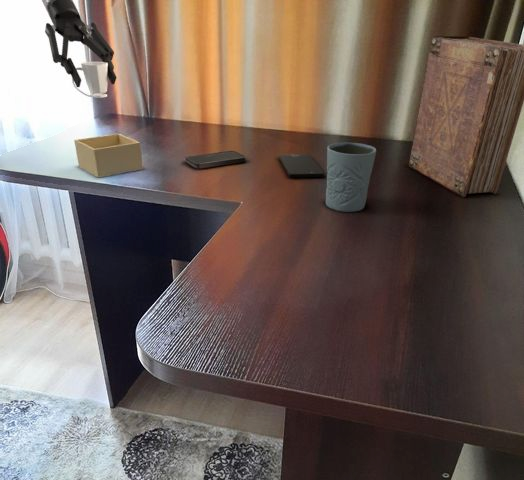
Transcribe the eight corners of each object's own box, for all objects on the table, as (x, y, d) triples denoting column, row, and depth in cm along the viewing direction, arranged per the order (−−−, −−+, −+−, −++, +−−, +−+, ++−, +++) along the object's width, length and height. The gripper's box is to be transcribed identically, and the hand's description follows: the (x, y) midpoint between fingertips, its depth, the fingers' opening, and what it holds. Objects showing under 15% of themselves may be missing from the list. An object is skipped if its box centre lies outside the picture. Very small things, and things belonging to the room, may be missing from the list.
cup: (114, 97, 139) (110, 64, 135) (77, 99, 136) (71, 65, 131) (109, 93, 144) (104, 61, 140) (72, 95, 141) (67, 62, 136)
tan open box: (98, 177, 122) (93, 149, 119) (78, 166, 129) (73, 139, 126) (143, 169, 129) (140, 142, 125) (122, 159, 136) (118, 133, 132)
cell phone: (309, 157, 141) (309, 153, 140) (324, 177, 126) (324, 173, 126) (278, 157, 140) (278, 154, 139) (289, 177, 125) (289, 174, 125)
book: (497, 194, 119) (540, 47, 102) (463, 197, 117) (502, 47, 99) (437, 164, 139) (466, 36, 121) (407, 166, 137) (432, 36, 119)
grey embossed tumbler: (329, 213, 107) (336, 155, 100) (316, 197, 115) (321, 142, 108) (375, 211, 108) (384, 153, 101) (358, 195, 116) (366, 140, 109)
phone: (247, 157, 136) (196, 164, 129) (247, 161, 136) (196, 168, 130) (233, 150, 141) (183, 156, 134) (233, 154, 142) (184, 161, 135)
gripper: (96, 19, 145) (130, 88, 145) (18, 19, 133) (54, 95, 133) (102, -3, 139) (137, 69, 139) (20, -5, 127) (58, 75, 127)
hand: (97, 82), depth 136 cm, fingers closed on cup, 9 cm apart
